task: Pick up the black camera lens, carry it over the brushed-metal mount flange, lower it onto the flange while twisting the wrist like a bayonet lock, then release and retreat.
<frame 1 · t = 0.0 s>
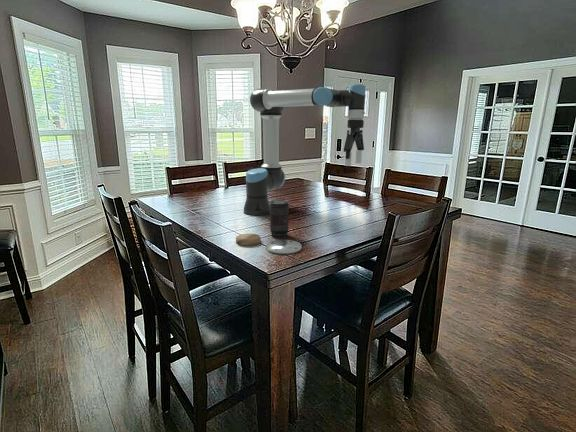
hand: (353, 164, 166), 28 cm above the table, fingers open, 13 cm apart
mount flange: (283, 247, 133), on the table
walnut coaster: (248, 242, 140), on the table
camera lens: (279, 236, 148), on the table
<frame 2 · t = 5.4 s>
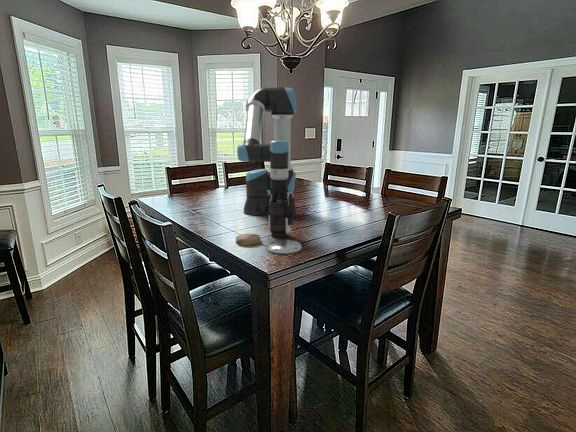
hand: (279, 230, 147), 2 cm above the table, fingers closed on camera lens, 8 cm apart
camera lens: (279, 236, 148), on the table, touching gripper
everything else where it was.
when the fingers open (4 cm above the table, at t = 10.8 s): camera lens stays where it is, resting on mount flange.
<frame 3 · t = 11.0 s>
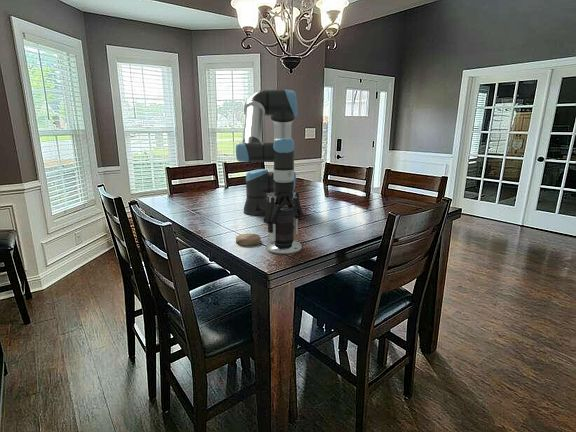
hand: (283, 237, 132), 4 cm above the table, fingers open, 11 cm apart
camera lens: (283, 246, 133), point 1 cm above the table, touching mount flange
everything else where it was.
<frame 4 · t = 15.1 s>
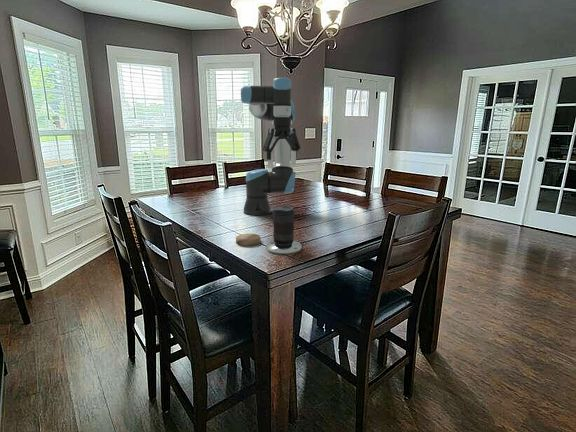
hand: (282, 166, 151), 29 cm above the table, fingers open, 13 cm apart
nothing on the table moved.
at the end: camera lens 0.2 cm from the mount flange (horizontally); camera lens touching mount flange; camera lens tilted 0° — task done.
